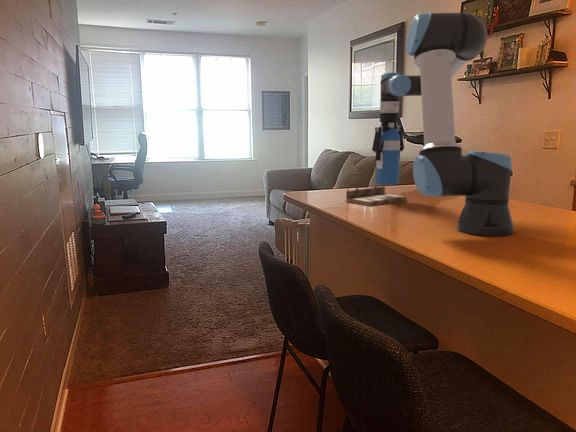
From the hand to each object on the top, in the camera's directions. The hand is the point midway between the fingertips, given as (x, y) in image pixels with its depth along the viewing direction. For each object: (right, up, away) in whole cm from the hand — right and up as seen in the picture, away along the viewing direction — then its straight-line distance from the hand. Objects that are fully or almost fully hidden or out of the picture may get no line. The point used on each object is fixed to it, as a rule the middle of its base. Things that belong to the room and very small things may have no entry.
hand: (387, 167), depth 189 cm
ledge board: (-5, -14, 0) cm, 15 cm away
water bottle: (0, -7, +1) cm, 7 cm away
